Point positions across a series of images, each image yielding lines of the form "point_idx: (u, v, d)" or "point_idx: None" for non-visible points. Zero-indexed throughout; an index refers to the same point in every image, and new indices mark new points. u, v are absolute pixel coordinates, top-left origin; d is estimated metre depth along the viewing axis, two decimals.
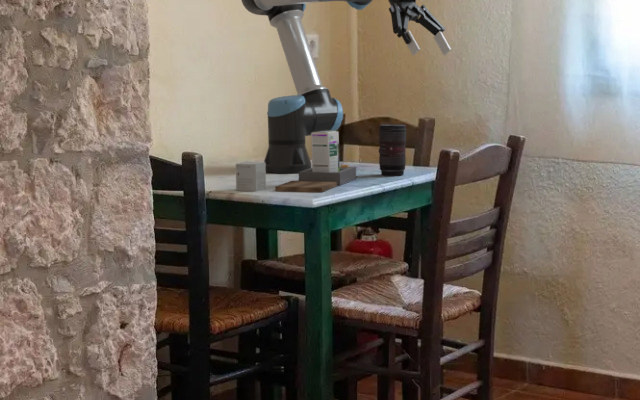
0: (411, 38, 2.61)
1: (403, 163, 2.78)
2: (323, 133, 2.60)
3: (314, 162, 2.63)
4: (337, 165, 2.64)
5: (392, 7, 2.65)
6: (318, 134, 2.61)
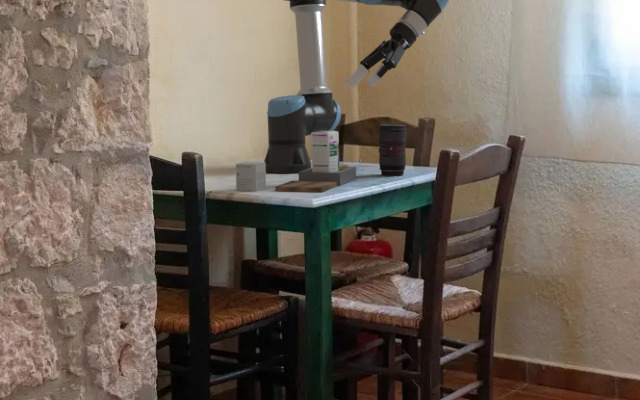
0: (381, 76, 2.59)
1: (403, 163, 2.78)
2: (323, 133, 2.60)
3: (314, 162, 2.63)
4: (337, 165, 2.64)
5: (406, 44, 2.61)
6: (318, 134, 2.61)
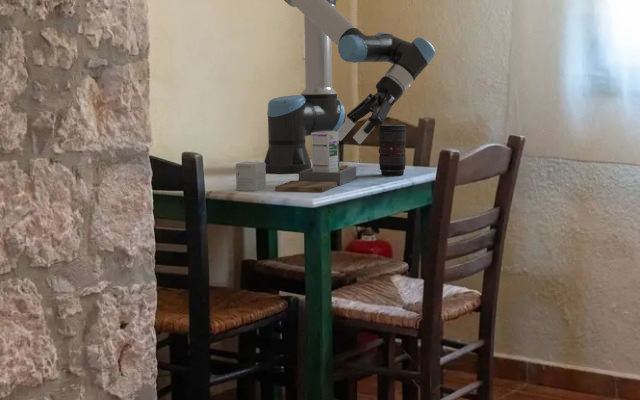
0: (368, 132, 2.58)
1: (403, 163, 2.78)
2: (323, 133, 2.60)
3: (314, 162, 2.63)
4: (337, 165, 2.64)
5: (392, 100, 2.60)
6: (318, 134, 2.61)
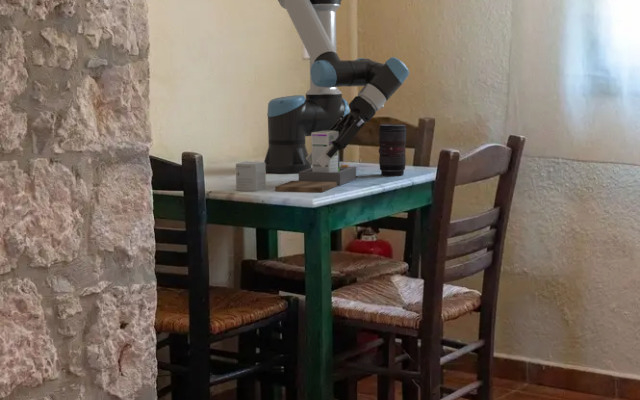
0: (331, 156, 2.60)
1: (403, 163, 2.78)
2: (323, 133, 2.60)
3: (314, 162, 2.63)
4: (337, 165, 2.64)
5: (361, 123, 2.59)
6: (318, 134, 2.61)
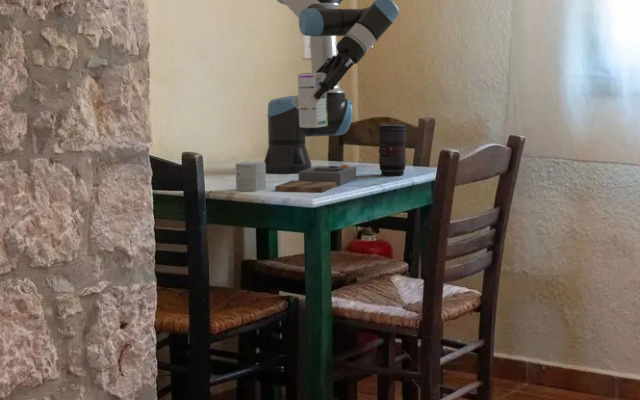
0: None
1: (403, 163, 2.78)
2: (310, 74, 2.47)
3: (300, 105, 2.50)
4: (325, 108, 2.51)
5: (349, 63, 2.47)
6: (304, 76, 2.48)
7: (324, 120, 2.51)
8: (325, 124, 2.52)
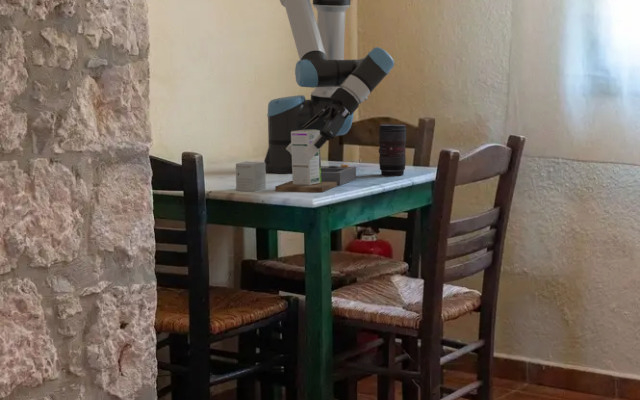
0: (319, 147, 2.44)
1: (403, 163, 2.78)
2: (303, 132, 2.47)
3: (294, 162, 2.50)
4: (318, 166, 2.51)
5: (346, 113, 2.46)
6: (298, 133, 2.48)
7: (317, 177, 2.51)
8: (318, 181, 2.52)
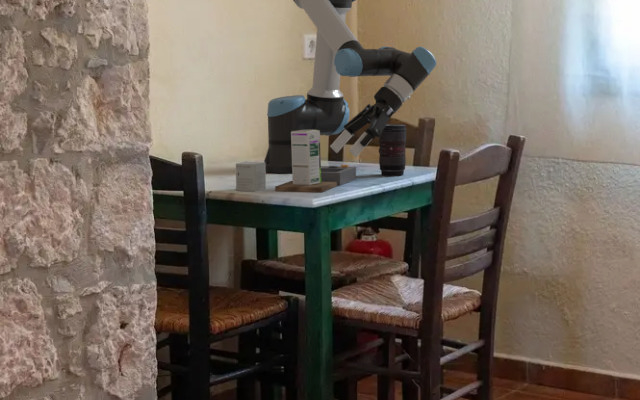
0: None
1: (403, 163, 2.78)
2: (303, 132, 2.47)
3: (294, 162, 2.50)
4: (318, 166, 2.51)
5: (390, 111, 2.51)
6: (298, 133, 2.48)
7: (317, 177, 2.51)
8: (318, 181, 2.52)
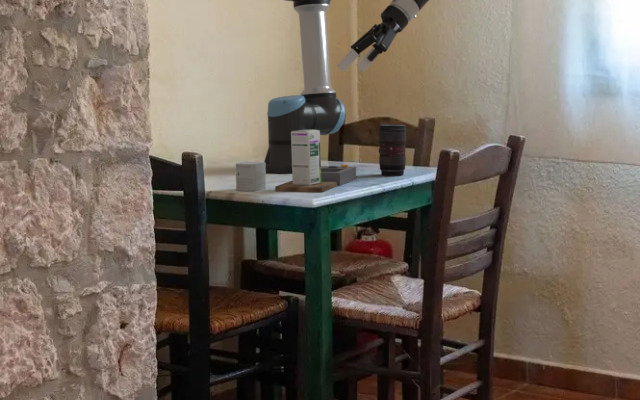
0: None
1: (403, 163, 2.78)
2: (303, 132, 2.47)
3: (294, 162, 2.50)
4: (318, 166, 2.51)
5: (397, 28, 2.55)
6: (298, 133, 2.48)
7: (317, 177, 2.51)
8: (318, 181, 2.52)
